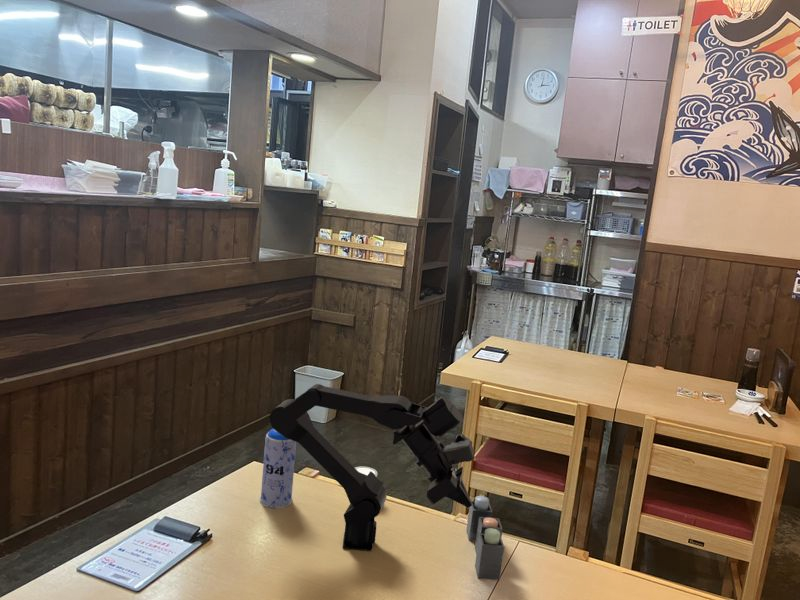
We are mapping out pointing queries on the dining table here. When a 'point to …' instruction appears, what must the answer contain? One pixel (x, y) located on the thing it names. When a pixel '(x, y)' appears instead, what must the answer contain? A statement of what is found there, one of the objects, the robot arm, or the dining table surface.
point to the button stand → (486, 554)
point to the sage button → (491, 536)
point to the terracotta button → (490, 522)
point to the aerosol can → (277, 470)
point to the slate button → (481, 503)
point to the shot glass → (366, 470)
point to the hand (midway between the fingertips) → (470, 505)
